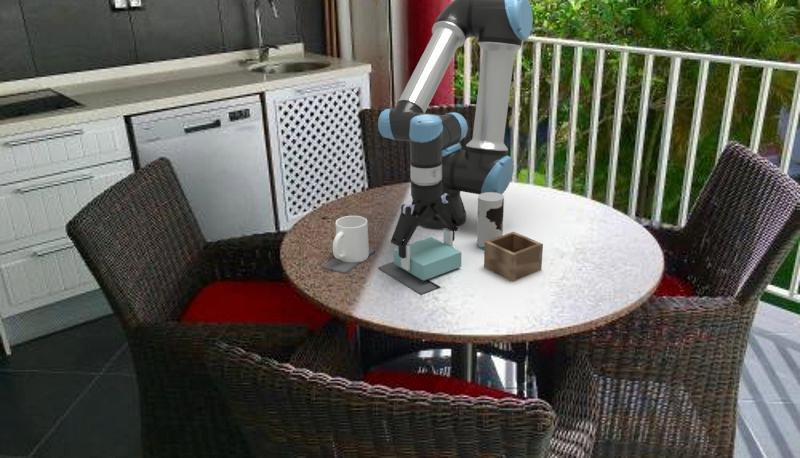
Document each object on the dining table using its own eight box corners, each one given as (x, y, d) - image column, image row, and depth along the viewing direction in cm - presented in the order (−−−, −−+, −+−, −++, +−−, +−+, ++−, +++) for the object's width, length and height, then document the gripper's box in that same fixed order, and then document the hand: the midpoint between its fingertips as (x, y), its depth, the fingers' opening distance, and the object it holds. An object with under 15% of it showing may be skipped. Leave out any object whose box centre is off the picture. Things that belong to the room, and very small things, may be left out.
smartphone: (320, 266, 175) (352, 244, 187) (321, 269, 175) (352, 247, 187) (345, 272, 171) (376, 249, 183) (345, 276, 172) (376, 252, 184)
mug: (347, 272, 172) (344, 235, 168) (322, 264, 177) (319, 228, 173) (375, 255, 181) (373, 219, 177) (351, 248, 186) (348, 213, 182)
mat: (377, 268, 174) (377, 267, 174) (432, 249, 184) (432, 248, 183) (421, 294, 161) (421, 293, 160) (478, 273, 170) (478, 271, 170)
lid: (394, 267, 173) (393, 249, 171) (431, 254, 180) (431, 237, 178) (423, 285, 164) (423, 265, 162) (461, 270, 171) (461, 252, 169)
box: (483, 270, 171) (484, 241, 168) (512, 259, 177) (513, 231, 173) (512, 285, 164) (513, 255, 161) (541, 273, 169) (543, 244, 166)
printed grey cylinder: (506, 251, 181) (508, 199, 175) (483, 256, 179) (485, 202, 173) (494, 242, 187) (496, 190, 181) (472, 246, 185) (473, 194, 179)
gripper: (393, 197, 153) (396, 280, 162) (475, 173, 166) (474, 252, 175) (374, 188, 159) (378, 269, 167) (455, 166, 172) (455, 242, 180)
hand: (427, 260), depth 171 cm, fingers open, 13 cm apart
